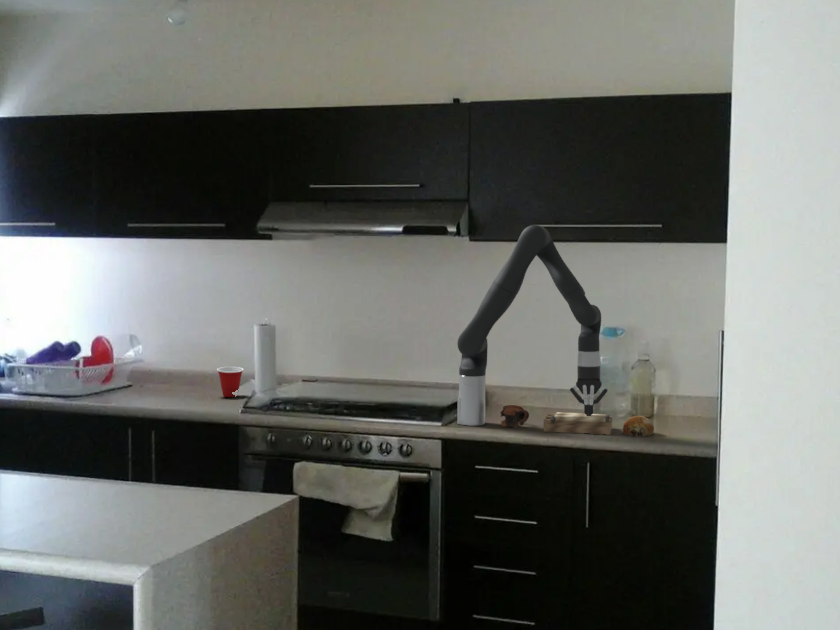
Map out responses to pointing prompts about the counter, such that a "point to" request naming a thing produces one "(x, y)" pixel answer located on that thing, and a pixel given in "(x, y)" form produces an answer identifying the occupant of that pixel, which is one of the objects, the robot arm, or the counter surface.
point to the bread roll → (638, 426)
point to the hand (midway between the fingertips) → (588, 415)
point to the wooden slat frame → (576, 425)
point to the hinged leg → (583, 417)
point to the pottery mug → (513, 416)
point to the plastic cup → (229, 379)
